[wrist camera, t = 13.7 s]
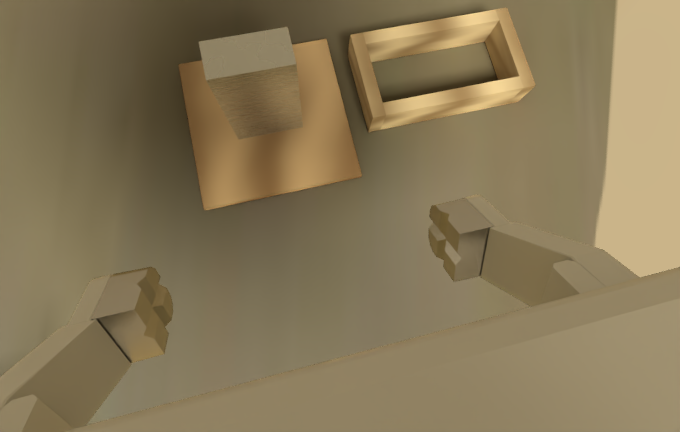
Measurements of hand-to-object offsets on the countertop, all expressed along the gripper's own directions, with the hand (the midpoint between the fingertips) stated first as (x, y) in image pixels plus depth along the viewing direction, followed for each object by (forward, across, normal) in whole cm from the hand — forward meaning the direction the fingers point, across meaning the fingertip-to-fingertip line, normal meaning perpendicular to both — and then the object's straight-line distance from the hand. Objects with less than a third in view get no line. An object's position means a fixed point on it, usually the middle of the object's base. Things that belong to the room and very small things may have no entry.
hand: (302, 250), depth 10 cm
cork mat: (+20, 0, +3) cm, 20 cm away
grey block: (+19, 0, +2) cm, 19 cm away
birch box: (+20, -14, +2) cm, 24 cm away
